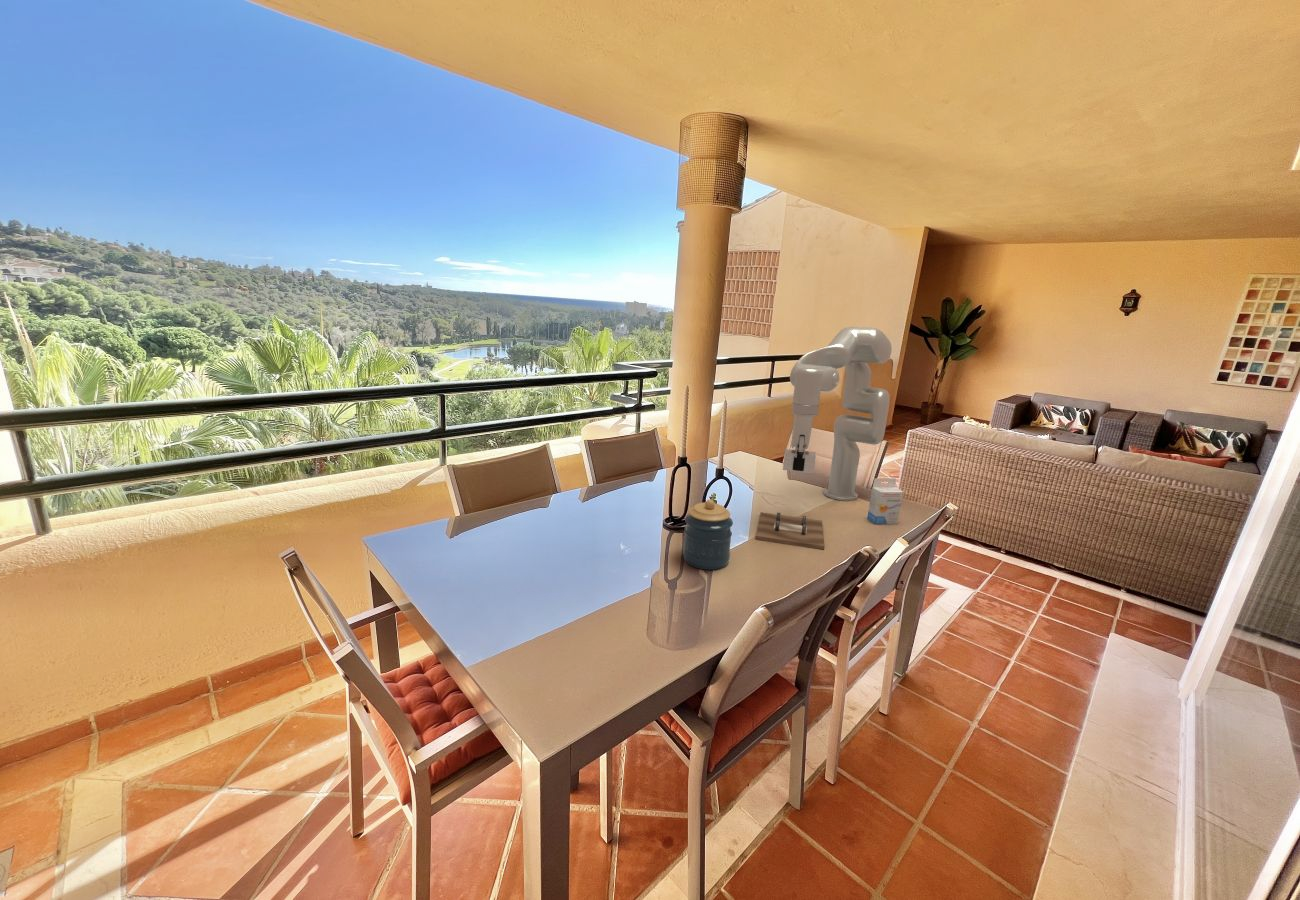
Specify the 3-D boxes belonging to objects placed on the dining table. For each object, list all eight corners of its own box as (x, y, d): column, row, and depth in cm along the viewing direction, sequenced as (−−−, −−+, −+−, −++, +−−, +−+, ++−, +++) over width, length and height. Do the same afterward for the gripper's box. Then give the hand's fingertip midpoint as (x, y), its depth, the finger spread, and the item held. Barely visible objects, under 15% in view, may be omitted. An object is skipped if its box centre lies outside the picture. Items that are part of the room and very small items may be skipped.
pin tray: (760, 515, 171) (761, 503, 170) (821, 523, 166) (823, 512, 165) (755, 539, 153) (756, 526, 152) (824, 549, 148) (825, 536, 146)
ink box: (874, 524, 167) (881, 482, 163) (866, 518, 172) (873, 478, 168) (898, 524, 168) (905, 482, 164) (889, 518, 173) (896, 477, 169)
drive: (783, 465, 157) (785, 448, 156) (813, 469, 155) (815, 451, 153) (782, 469, 153) (784, 452, 152) (813, 473, 151) (815, 455, 149)
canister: (728, 573, 132) (733, 511, 127) (679, 567, 134) (683, 506, 130) (730, 551, 144) (735, 494, 140) (685, 546, 147) (689, 489, 142)
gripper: (792, 404, 158) (786, 459, 163) (791, 413, 142) (784, 474, 147) (817, 406, 156) (810, 462, 161) (819, 415, 140) (811, 477, 145)
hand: (798, 467), depth 154 cm, fingers closed on drive, 4 cm apart
